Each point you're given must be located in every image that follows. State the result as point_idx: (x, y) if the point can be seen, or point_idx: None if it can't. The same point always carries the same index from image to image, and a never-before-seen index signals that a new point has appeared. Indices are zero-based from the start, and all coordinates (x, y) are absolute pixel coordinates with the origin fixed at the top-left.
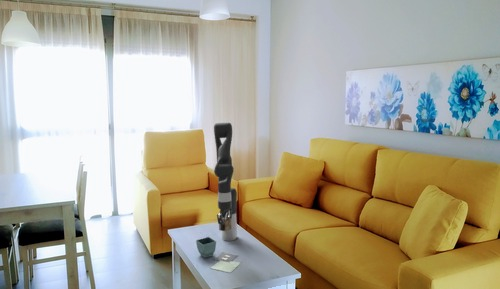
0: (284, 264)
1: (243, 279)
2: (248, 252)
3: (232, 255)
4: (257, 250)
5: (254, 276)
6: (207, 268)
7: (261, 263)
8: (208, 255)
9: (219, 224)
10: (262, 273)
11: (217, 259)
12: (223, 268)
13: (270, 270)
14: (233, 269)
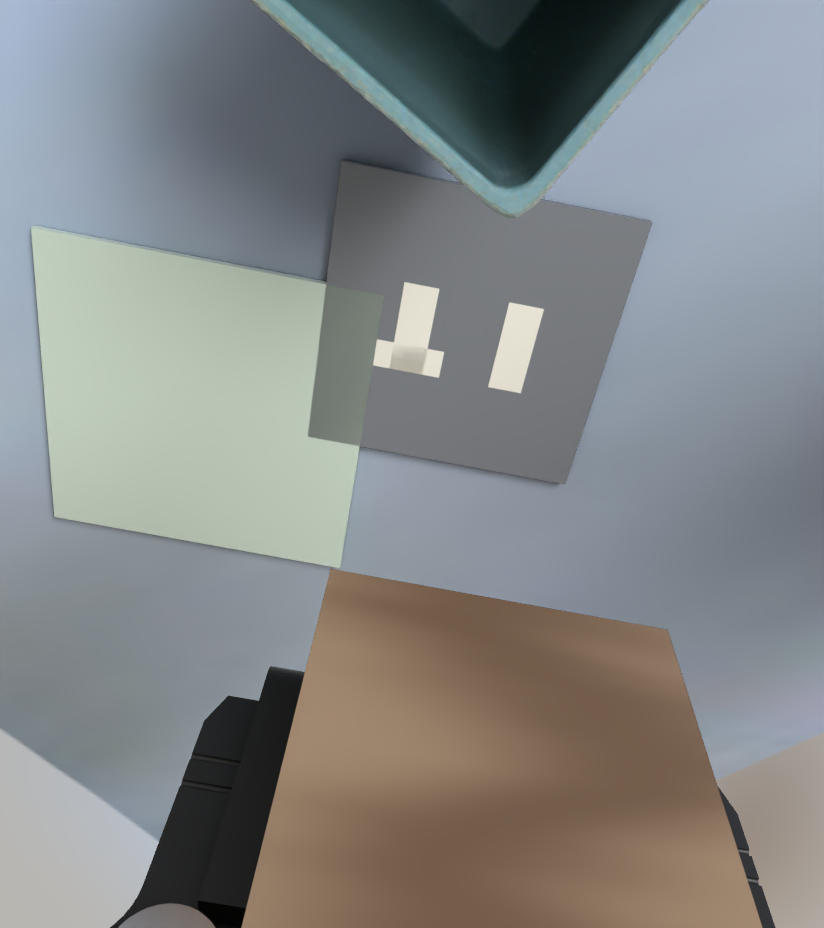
0: None
1: (5, 657)
2: (699, 580)
3: (549, 415)
4: (772, 662)
5: (113, 727)
6: (18, 170)
7: None
8: (405, 9)
9: (277, 786)
10: None
11: (348, 230)
12: (110, 411)
13: None
14: (142, 531)
